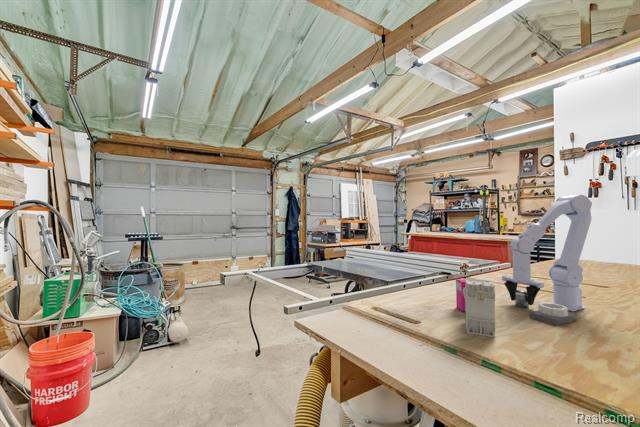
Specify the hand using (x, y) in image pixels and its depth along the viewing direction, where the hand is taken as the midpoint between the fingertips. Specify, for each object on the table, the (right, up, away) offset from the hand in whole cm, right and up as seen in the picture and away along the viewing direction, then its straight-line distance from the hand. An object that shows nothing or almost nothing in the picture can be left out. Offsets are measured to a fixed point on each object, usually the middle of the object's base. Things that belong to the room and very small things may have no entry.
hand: (521, 302), depth 113 cm
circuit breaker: (-29, -2, -21) cm, 36 cm away
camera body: (+1, -1, -14) cm, 14 cm away
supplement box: (-24, -2, -5) cm, 25 cm away
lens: (0, -2, 0) cm, 2 cm away
